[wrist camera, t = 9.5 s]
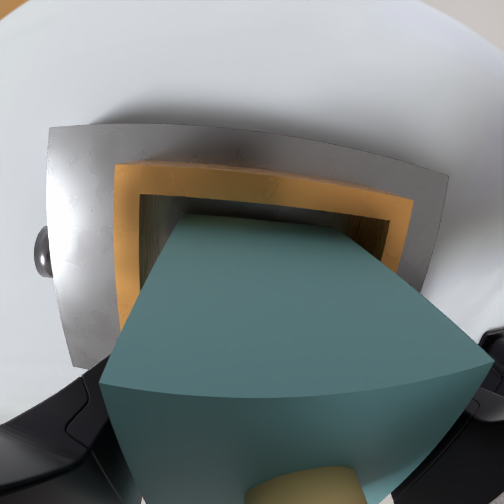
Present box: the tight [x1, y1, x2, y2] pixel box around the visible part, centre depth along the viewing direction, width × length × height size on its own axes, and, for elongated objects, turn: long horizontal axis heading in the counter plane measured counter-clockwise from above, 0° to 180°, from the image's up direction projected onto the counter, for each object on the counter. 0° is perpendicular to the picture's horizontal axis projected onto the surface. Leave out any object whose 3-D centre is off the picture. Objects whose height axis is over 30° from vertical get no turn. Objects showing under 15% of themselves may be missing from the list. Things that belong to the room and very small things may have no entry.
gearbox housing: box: [34, 123, 449, 370], centre depth 12 cm, size 19×12×6 cm, turn 83°
